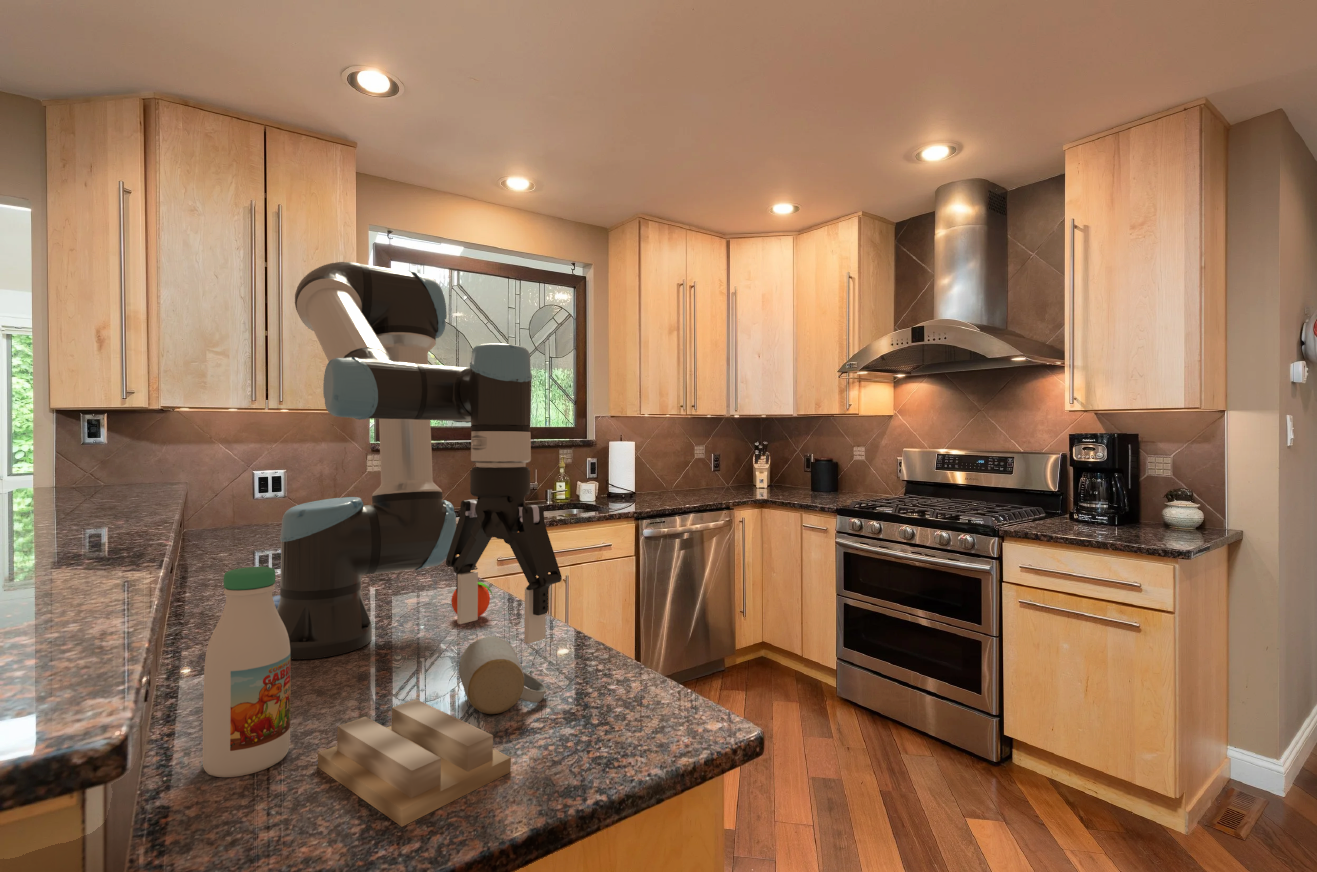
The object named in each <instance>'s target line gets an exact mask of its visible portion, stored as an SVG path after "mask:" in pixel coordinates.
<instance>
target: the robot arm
mask: <svg viewBox="0 0 1317 872" xmlns="http://www.w3.org/2000/svg"><path fill="white" fill-rule="evenodd" d="M446 304H447V303H446V297H445V294H444V291H443V289H442V287H441V285H440V284H439V282H437V280H436V279H434V277H432V276H429V275H425V274H420V273H417V272H415V271H412V270H401V269H394V268H388V267H382V266H375V265H370V264H363V263H359V262H353V261H352V262H351V261H337V262H331V263H327V264H323V265H321V266H318V267H317V268H314V269H313V270H311V271H309V272H308V273H307V274H306V275H305V276H304V277H303V278H302V279H301V280H300V282H299V283H298V284H297V287H296V290H295V293H294V307H295V310H296V313H297V315H298V317H299V318H300V321H301V322H302V323H303V324H304V326H305V327H307V328H308V329H309V330H311V331H312V332H314V335H315V336H316V338H317V340H318V343H319V345H320V346H321V349H322V351H323V354H324V355H325V357H326V359H327V364H326V366H325V369H324V373H323V374H324V375H323V384H322V385H323V388H322V389H323V390H322V391H323V399H324V407H325V409H326V410H327V412H328V413H329V414H330V415H331V416H333V417H337V418H338V417H339V418H348V419H349V418H351V419H352V418H353V419H356V420H359V421H360V420H368V419H369V420H375V419H376V420H378V421H379V422H378V423H379V424H378V425H379V460H380V463H379V465H380V486H379V487H377V488H376V490H374V491H373V493H372V494H371V504H367V505H366V504H365V505H364V501H363V500H362V498H361V497H357V496H346V497H335V498H333V497H332V498H327V499H325V498H324V499H321V500H319V499H318V500H314V501H308V502H304V503H301V504H297V505H294V506H292V507H290V508H288V509H287V510H286V511H285V512H284V514H283V515H282V519H281V529H280V535H279V542H280V581H279V582H280V584H279V585H280V590H279V591H280V592H279V595H280V602H279V605H278V608H277V612H278V614H279V616H280V618H281V620H282V621H283V623H284V625H285V627H286V630H287V633H288V637H289V642H290V657H291V660H313V659H321V658H322V659H323V658H328V657H329V658H330V657H334V656H339V655H342V654H348V653H350V652H353V651H356V650H359V649H361V648H363V647H365V646H367V645H368V644H370V642H371V641H372V639H373V638H372V637H373V635H372V634H373V627H372V625H373V624H372V621H371V619H370V616H369V613H368V609H367V607H366V604H365V601H364V599H363V596H362V586H361V585H362V576H368V575H377V574H384V573H385V574H386V573H395V572H401V571H402V572H403V571H405V572H406V571H411V570H414V571H420V570H423V569H426V568H433V567H437V566H440V565H442V564H443V563H445V565H446V566H447V567H448V568H449V567H451V568H452V569H453V572H454V573H455V574H456V580H455V581H456V589H455V590H456V592H457V614H456V618H457V619H456V620H457V621H456V623H457V624H459V625H462V624H467V623H469V622H474V621H478V618H479V617H478V582H479V580H478V579H479V572H478V571H476V570H478V569H479V568H478V567H477V564H478V561H479V560H480V559H481V557H482V555H483V553H484V551H485V550H486V548H487V546H488V545H489V543H490V541H491V539H492V538H496V539H498V540H503V541H504V543H505V544H507V545H508V546H509V547H510V549H511V551H512V552H513V554H514V557H515V559H516V560H517V563H518V565H519V567H520V569H521V570H522V573H523V575H524V577H525V579H526V581H527V583H528V585H527V586H526V587H525V588H524V634H523V635H524V639H523V640H524V643H525V644H528V645H529V644H532V643H535V642H539V641H542V640H546V634H547V633H546V630H547V629H546V627H547V626H546V624H547V623H546V621H547V619H546V618H547V616H546V614H548V612H549V588H550V586H552V585H556V584H559V583H561V582H562V579H563V578H562V576H563V575H562V573H561V571H560V567H559V564H558V561H557V559H556V555H555V552H554V548H553V545H552V543H551V538H550V536H549V533H548V530H547V526H546V524H545V513H544V510H545V509H544V507H543V505H542V504H531V505H526V503H525V502H526V501H525V497H526V496H528V495H530V493H531V469H530V467H529V466H526V465H527V463H530V462H531V460H532V456H531V455H532V450H531V449H532V448H531V447H532V446H531V443H532V442H531V433H532V432H531V414H532V410H531V409H532V379H533V374H532V369H531V354H530V351H529V350H528V349H527V348H525V347H524V346H521V345H517V344H510V343H497V342H495V343H482V344H478V345H476V346H474V347H473V349H472V351H471V357H470V362H469V367H465V366H464V367H463V366H451V365H450V366H449V365H440V364H439V365H438V364H437V365H436V364H429V359H428V355H429V352H430V351H431V350H432V349H433V348H434V347H435V346H436V344H437V339H439V338H441V337H442V336H443V334H444V332H445V330H446V326H447V325H446V320H447V317H448V316H447V314H448V313H447V312H448V311H447V305H446ZM431 421H443V422H444V421H446V422H447V421H448V422H449V421H450V422H451V421H452V422H454V423H466V424H467V423H470V431H471V432H470V433H471V434H470V435H471V436H470V439H471V440H470V441H471V442H470V443H471V444H470V461H471V463H474V464H475V466H473V467H471V469H470V471H469V472H470V474H469V475H470V477H469V479H470V482H469V483H470V484H469V485H470V487H469V488H470V489H469V491H470V494H471V496H472V497H476V498H477V499H466V500H462V501H461V502H460V509H459V518H458V520H457V516H456V512H455V507H454V505H453V504H452V503H451V502H450V501H447V500H446V499H444V500H443V490H442V489H441V488H440V487H439V486H438V485H437V484H436V483H435V482H434V480H433V478H434V477H433V475H434V474H433V454H432V453H433V452H432V451H433V450H432V430H431Z"/></svg>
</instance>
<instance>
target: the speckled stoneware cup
mask: <svg viewBox="0 0 1317 872" xmlns="http://www.w3.org/2000/svg"><path fill="white" fill-rule="evenodd" d="M514 648H515V647H513V646H512V645H511V644H510V642H508V640H505V639H503V638H501V637H497V636H485V637H481V638H479V639H476V640H475V641H473V642H472V643H471V644H469V645H468V647H466V649H465V650H464V651H463V653H462V655H461V657H460V660H459V664H458V673H459V678H460V681H461V685H462V687H463V690H464V693H465V696H466V698H467V700H468V702H469V704H470V705H472V707H473V708H474V709H476V710H477V711H479V712H480V713H482V714H486V715H498V714H501V713H505V712H506V711H508V710H510V709H511V708H512V707H514V706H515V705H516V704H517V702H518V701H519V700H521V701H523V702H524V701H525V702H528V703H529V702H530V703H532V704H533V703H534V704H535V703H540V702H542V700H543V698H544V696H545V695H546V691H547V688H546V685H544V683H542V682H541V680H540V679H538V678H536V677H534V676H532V675H530V674H529V673H527V672H525V671H524V670H523V668H522V665H521V663H520V660H519V657H518V654H517V652H516V650H515V649H514Z"/></svg>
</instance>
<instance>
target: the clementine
mask: <svg viewBox="0 0 1317 872" xmlns="http://www.w3.org/2000/svg"><path fill="white" fill-rule="evenodd" d="M490 594H491V596H492V597H494V596H493V593H492V589H491V588H490V586H488V585H487V584H485V583H483V582H481V581H478V618H479V617H481V616H482V615H483V614H484V613H486V611H487V610H488V608H489V605H490V601H491V596H490ZM451 607H452V609H453V611H454V612H455V614H456V615H457V592H456V589H455V590H454V591H453V593H452V595H451Z"/></svg>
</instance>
